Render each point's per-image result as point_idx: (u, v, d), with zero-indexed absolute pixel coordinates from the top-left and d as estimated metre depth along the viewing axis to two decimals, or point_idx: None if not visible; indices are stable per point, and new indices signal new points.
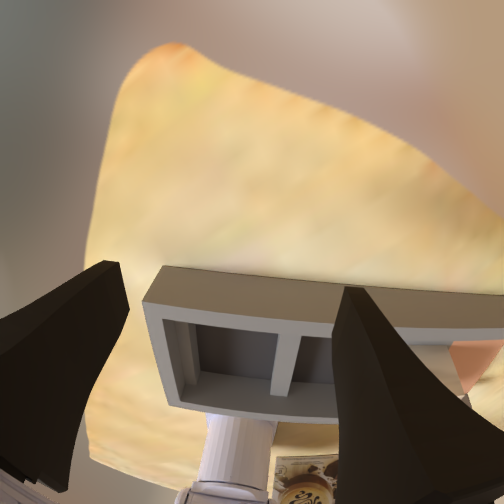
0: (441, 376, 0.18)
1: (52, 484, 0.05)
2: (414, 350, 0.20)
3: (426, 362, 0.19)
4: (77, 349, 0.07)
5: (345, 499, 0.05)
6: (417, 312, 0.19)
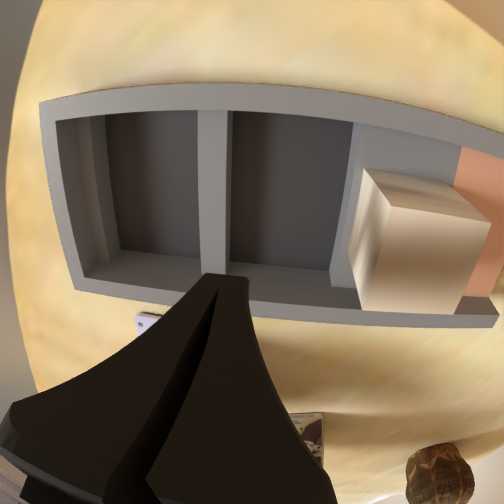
0: (446, 200, 0.12)
1: None
2: (398, 176, 0.14)
3: (418, 186, 0.13)
4: None
5: None
6: (385, 100, 0.13)
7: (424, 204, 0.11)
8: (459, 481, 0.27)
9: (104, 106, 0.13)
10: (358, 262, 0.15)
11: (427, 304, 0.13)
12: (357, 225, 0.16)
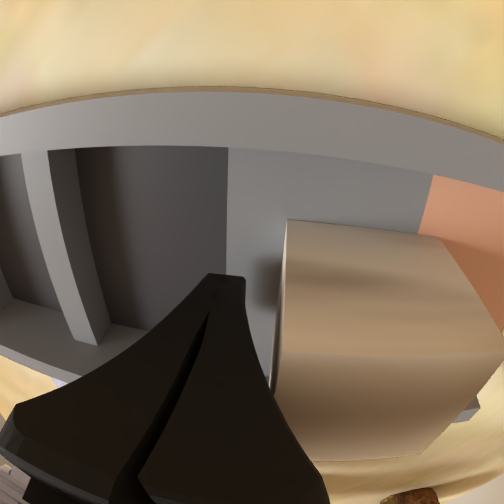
0: (430, 295, 0.06)
1: None
2: (348, 234, 0.09)
3: (381, 258, 0.08)
4: None
5: None
6: (265, 90, 0.07)
7: (373, 326, 0.06)
8: None
9: None
10: (270, 375, 0.09)
11: (374, 452, 0.07)
12: (277, 312, 0.10)
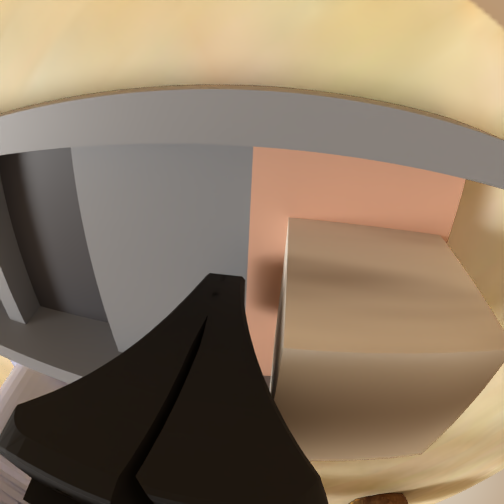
0: (432, 293, 0.06)
1: None
2: (350, 232, 0.09)
3: (382, 256, 0.08)
4: None
5: None
6: (80, 97, 0.07)
7: (375, 324, 0.05)
8: None
9: None
10: (272, 374, 0.09)
11: (375, 452, 0.07)
12: (278, 311, 0.10)
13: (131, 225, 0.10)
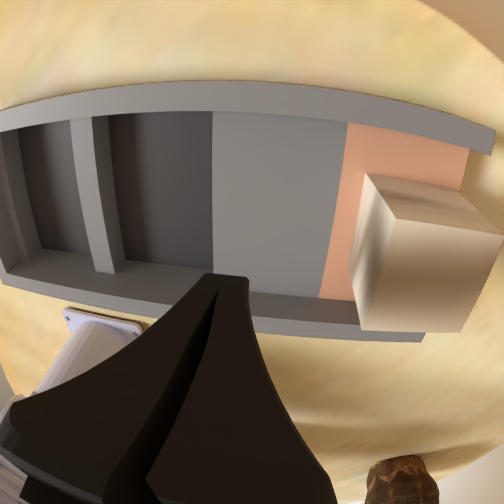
0: (456, 209, 0.11)
1: None
2: (402, 181, 0.13)
3: (425, 193, 0.12)
4: None
5: None
6: None
7: (431, 215, 0.10)
8: (419, 498, 0.26)
9: None
10: (358, 276, 0.14)
11: (432, 323, 0.12)
12: (357, 235, 0.15)
13: (256, 175, 0.15)
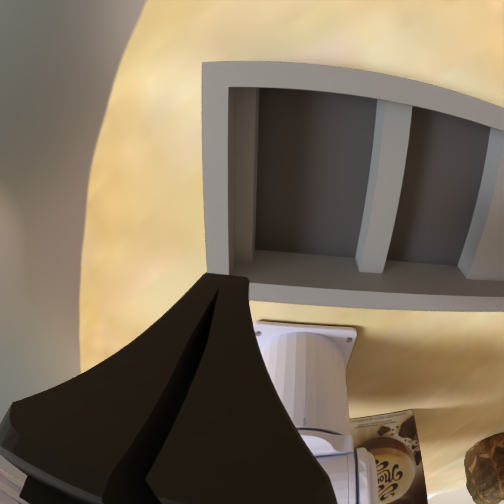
0: None
1: None
2: None
3: None
4: None
5: None
6: None
7: None
8: None
9: (305, 80, 0.12)
10: None
11: None
12: None
13: None
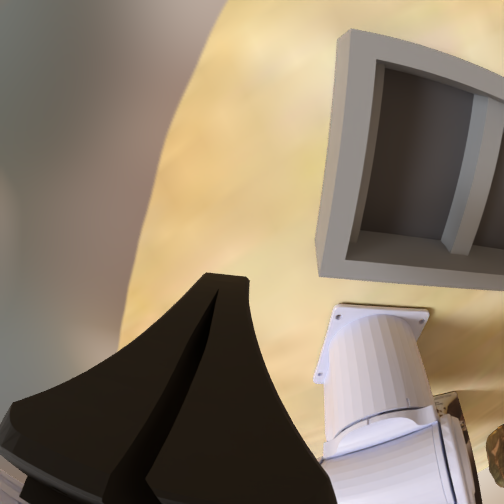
0: None
1: None
2: None
3: None
4: None
5: None
6: None
7: None
8: None
9: (444, 68, 0.10)
10: None
11: None
12: None
13: None
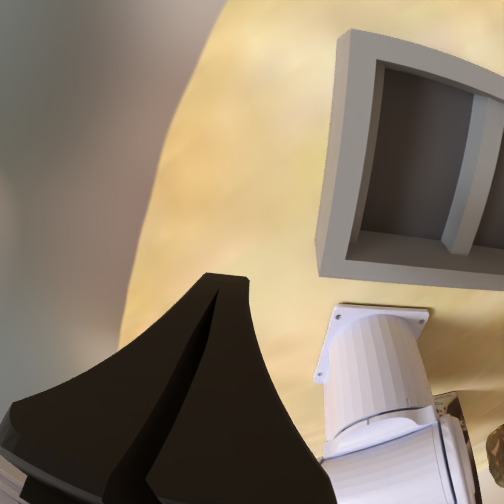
0: None
1: None
2: None
3: None
4: None
5: None
6: None
7: None
8: None
9: (444, 68, 0.10)
10: None
11: None
12: None
13: None
